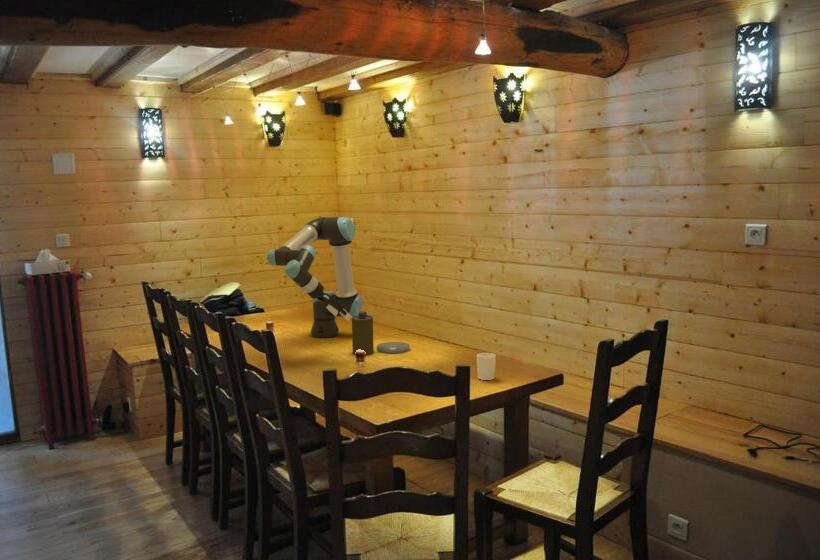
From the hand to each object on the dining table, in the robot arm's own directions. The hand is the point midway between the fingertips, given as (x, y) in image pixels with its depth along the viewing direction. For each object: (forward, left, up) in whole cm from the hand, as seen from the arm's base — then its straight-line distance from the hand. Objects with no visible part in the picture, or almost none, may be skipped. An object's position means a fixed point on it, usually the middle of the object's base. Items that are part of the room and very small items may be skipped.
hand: (343, 316), depth 316 cm
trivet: (+3, +25, -19) cm, 32 cm away
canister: (0, +10, -19) cm, 22 cm away
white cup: (+67, +32, -19) cm, 77 cm away
